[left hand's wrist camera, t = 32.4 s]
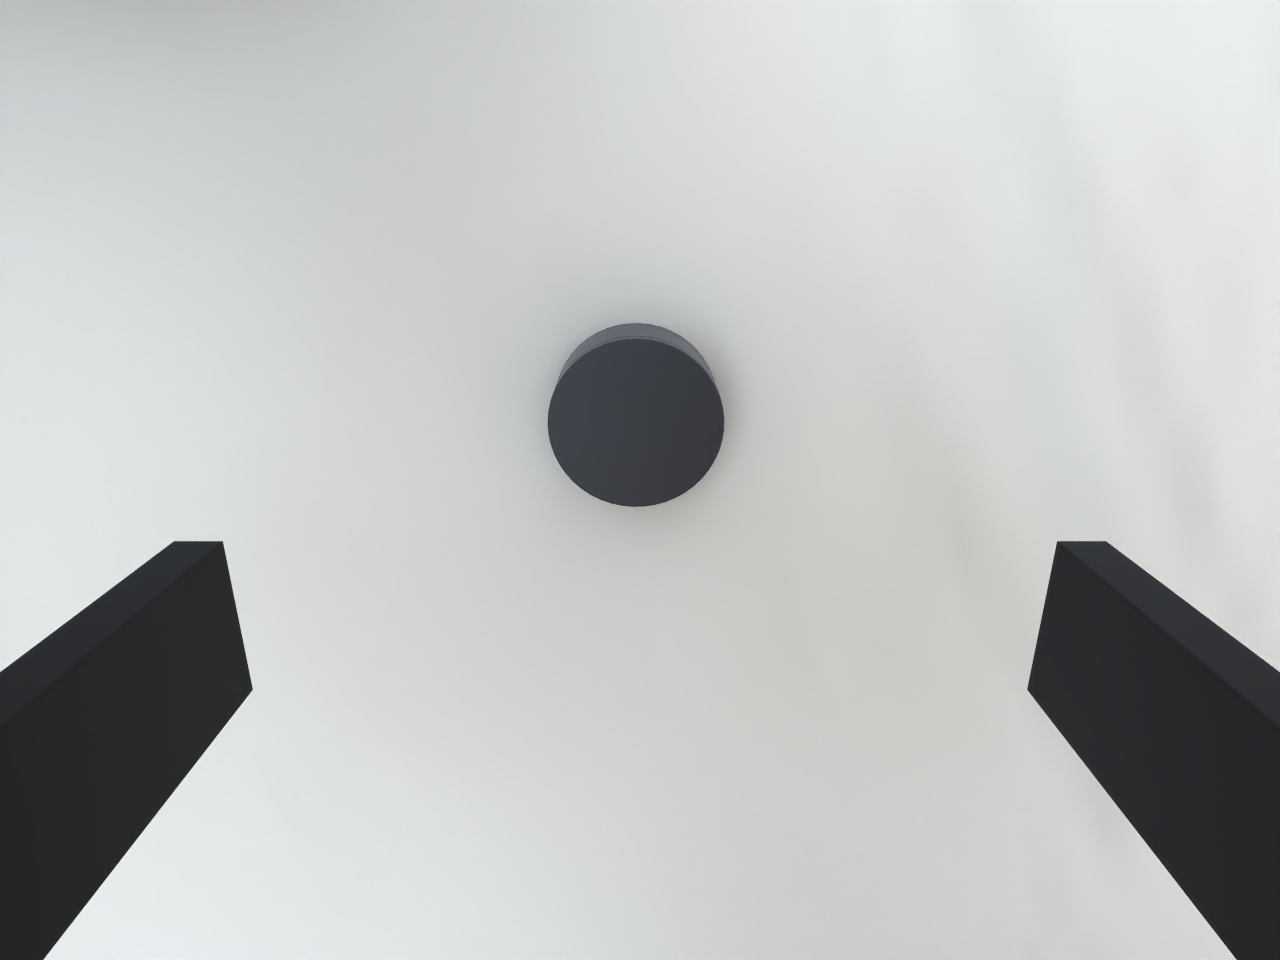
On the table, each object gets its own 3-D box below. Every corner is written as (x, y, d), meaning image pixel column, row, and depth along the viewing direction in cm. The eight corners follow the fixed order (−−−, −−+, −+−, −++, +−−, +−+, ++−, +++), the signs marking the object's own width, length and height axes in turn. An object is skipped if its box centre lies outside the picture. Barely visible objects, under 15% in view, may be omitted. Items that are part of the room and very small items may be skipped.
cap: (640, 287, 21) (641, 299, 19) (749, 408, 22) (760, 431, 20) (521, 399, 22) (510, 421, 20) (631, 508, 23) (631, 538, 21)
